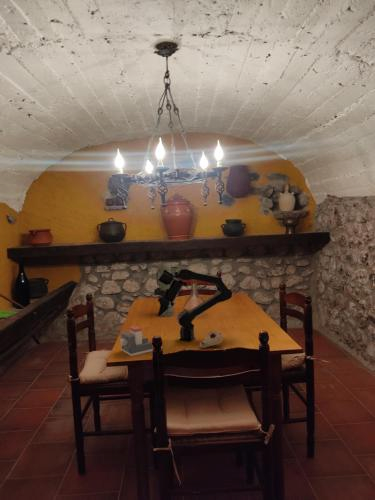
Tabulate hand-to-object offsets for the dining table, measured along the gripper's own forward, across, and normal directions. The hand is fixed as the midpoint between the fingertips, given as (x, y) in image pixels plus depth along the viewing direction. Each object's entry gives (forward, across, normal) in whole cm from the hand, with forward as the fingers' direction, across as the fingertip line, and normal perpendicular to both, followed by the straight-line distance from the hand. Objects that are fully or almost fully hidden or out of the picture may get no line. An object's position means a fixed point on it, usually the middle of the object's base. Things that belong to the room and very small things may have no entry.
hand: (158, 316), depth 213 cm
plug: (+19, +14, -1) cm, 23 cm away
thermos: (+4, -59, -4) cm, 60 cm away
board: (+18, +11, +2) cm, 21 cm away
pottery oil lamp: (-1, +4, +31) cm, 31 cm away
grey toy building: (+17, +11, +1) cm, 20 cm away
